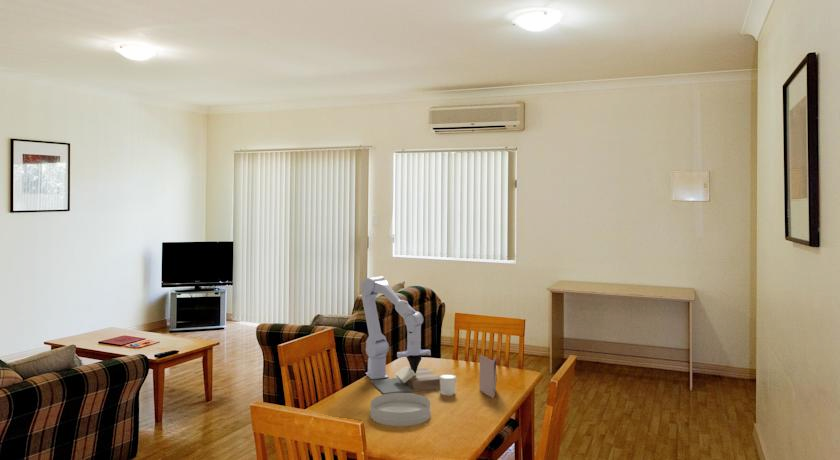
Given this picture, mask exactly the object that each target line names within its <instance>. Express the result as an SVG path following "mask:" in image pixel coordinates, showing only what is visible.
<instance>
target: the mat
mask: <svg viewBox="0 0 840 460" xmlns="http://www.w3.org/2000/svg"><path fill="white" fill-rule="evenodd" d="M370 383H371V384H372V385H373V386H375V388H377V390H378V391H379V392H380V393H381V395H384V394H390V393H410V392H411V393H412V392H414V391H413V390H412V389H411V388H410V387H409V386H408V385H407V384H405V383H403V382H402V381H401V380H400V379H398V378H397V377H395V378H394V377H393V378H392V377H391V378H381V379H371V380H370Z"/></svg>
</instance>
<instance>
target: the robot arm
mask: <svg viewBox="0 0 840 460" xmlns="http://www.w3.org/2000/svg"><path fill="white" fill-rule="evenodd" d="M360 286H361V290H362V291H361V300H362V301H361V302H362V306H363V311H364V315H365V321H366V326H367V332H368V337H367V339H366V341H365V344H366V345H365V353H366V356H368V358H367V372H365V374H366V376H367V377H368V378H369V379H371V380H381V379H389V375H388V374H387V372H386V371H387V369H386V365H387V364H386V361H387V360H386V359H387V358H386V356H387V354H388V352H389V351H390V345H389V342H388V341H387V337H386V336H385V335H384V334H383V333H382V330H381V325H380V320H379V315H378V309H377V304H376V300H375V299H376V297H377V296H378V294H380V295H383V296H384V297H385V298H386V299H388V301H389V302H390V303H392V304H393V305H394V309H395V311H396V313H398V314H399V315H400V316H401V317H402V318H403V321H404V325H405V326H406V332H407V334H406V335H407V337H406V338H407V339H406V340H407V342H406V347H407V348H406V350H404V351H403V350H402V351H397V352H396V358H398V359H401V358H406V359H407V361H408V364H409V366H410V367H409V368H410V369H412V370H413V371H414V373H416V371H417V368H419V364H420V363H421V360H422V356H431V355H432V354H431V353H432V352H431V350H430V349H422V348H421V347H422V345H421V344H422V343H421V342H422V332H421V331H422V324H423V323H424V322H425V321H424V316H423V314H422V313H421V312H420V311H416V310H415V308H413V307H412V306H411V305H410V304H409V302H408V300H405V299H401V298H400V297H399V295H397V293H396V292H395V291H394V290H393V289H392V287H391V286H390V285H389V281H388V280H386V278H385V277H384V276H382V275H378V276H374V277H366V278H364V280H363V281H362V283H361V285H360Z"/></svg>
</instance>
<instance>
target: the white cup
mask: <svg viewBox="0 0 840 460" xmlns="http://www.w3.org/2000/svg"><path fill="white" fill-rule="evenodd" d="M438 377H439V378H440V388H439V389H440V394H441V395H442V396H453V394H454V395H455V393H456V385H457V376H456V375H455V374H451V373H445V374H444V373H443V374H440V375H439V376H438Z"/></svg>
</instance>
